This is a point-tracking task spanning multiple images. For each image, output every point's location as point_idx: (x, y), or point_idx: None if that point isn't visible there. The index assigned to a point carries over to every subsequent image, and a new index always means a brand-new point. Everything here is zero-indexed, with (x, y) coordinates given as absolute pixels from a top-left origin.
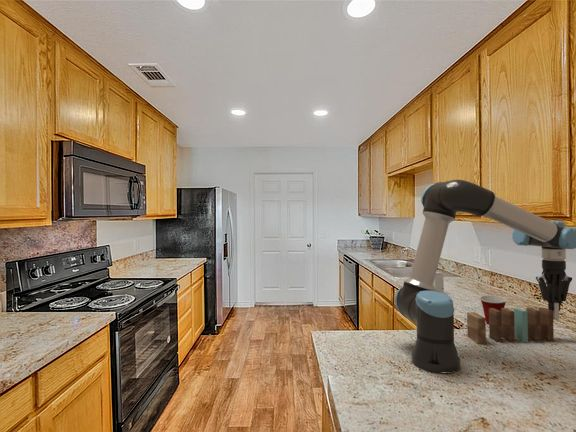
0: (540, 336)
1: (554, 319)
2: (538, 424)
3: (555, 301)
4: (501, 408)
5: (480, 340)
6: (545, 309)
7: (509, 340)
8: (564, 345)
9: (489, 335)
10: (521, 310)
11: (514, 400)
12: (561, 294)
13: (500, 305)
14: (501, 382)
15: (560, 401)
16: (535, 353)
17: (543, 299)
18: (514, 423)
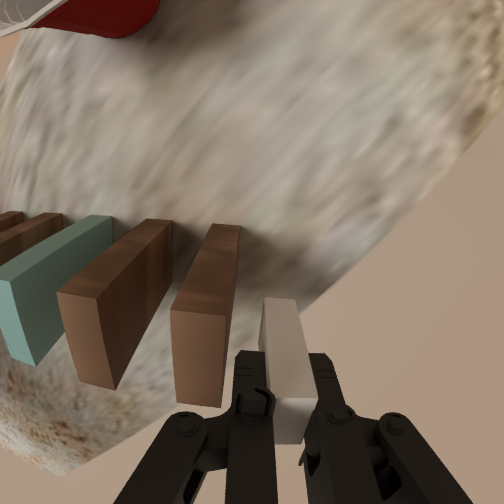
0: (164, 294)
1: (259, 336)
2: (33, 464)
3: (310, 426)
4: (7, 440)
5: None
6: (188, 371)
7: None
8: (245, 330)
9: (3, 214)
10: (10, 343)
11: (18, 440)
12: (417, 469)
13: (45, 22)
14: (6, 414)
15: (63, 463)
16: None
17: (172, 422)
18: (16, 454)
